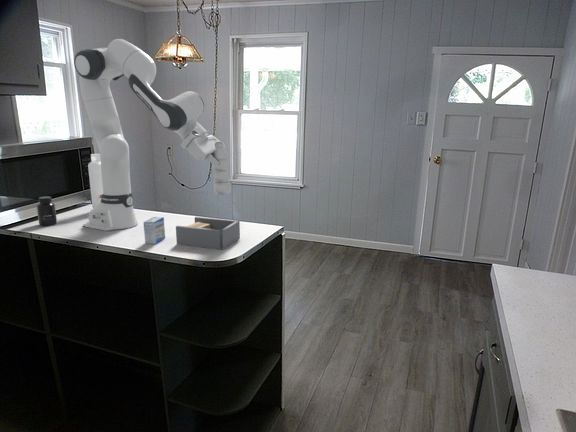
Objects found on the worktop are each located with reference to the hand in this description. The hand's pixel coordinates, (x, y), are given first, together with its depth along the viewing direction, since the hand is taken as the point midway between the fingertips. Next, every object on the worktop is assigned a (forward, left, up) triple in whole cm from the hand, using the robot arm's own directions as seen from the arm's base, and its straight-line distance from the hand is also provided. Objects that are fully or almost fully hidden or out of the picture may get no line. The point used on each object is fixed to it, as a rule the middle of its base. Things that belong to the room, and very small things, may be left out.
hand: (222, 162), depth 155 cm
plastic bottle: (0, 0, -13) cm, 13 cm away
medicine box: (-23, -13, -30) cm, 40 cm away
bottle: (-75, +19, -30) cm, 83 cm away
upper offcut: (-9, -6, -27) cm, 29 cm away
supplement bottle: (-80, -8, -30) cm, 86 cm away
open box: (-4, -6, -30) cm, 31 cm away
